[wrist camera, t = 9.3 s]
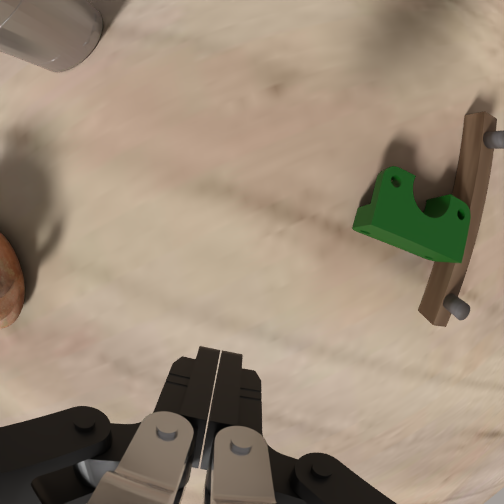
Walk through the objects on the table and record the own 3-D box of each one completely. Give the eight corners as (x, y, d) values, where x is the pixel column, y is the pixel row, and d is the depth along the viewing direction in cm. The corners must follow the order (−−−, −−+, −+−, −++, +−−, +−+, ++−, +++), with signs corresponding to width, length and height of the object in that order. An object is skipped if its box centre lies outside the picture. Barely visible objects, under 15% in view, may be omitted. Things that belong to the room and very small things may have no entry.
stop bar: (417, 310, 34) (445, 337, 27) (464, 115, 28) (501, 108, 21) (430, 312, 34) (458, 339, 27) (476, 121, 28) (513, 116, 21)
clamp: (414, 208, 35) (478, 213, 27) (403, 255, 35) (467, 267, 27) (351, 165, 30) (425, 158, 22) (335, 221, 30) (411, 228, 22)
